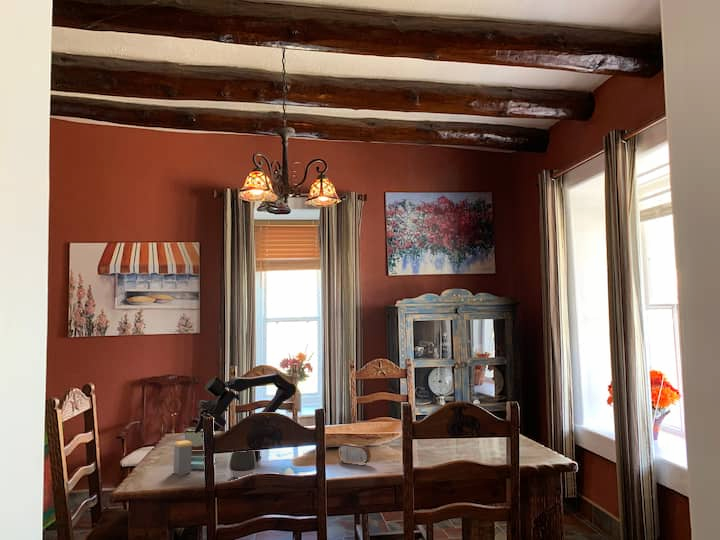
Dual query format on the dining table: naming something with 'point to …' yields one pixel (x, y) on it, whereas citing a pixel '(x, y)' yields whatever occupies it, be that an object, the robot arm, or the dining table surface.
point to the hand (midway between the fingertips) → (198, 434)
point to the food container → (194, 438)
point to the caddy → (182, 457)
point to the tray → (197, 462)
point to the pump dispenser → (242, 463)
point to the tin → (353, 453)
